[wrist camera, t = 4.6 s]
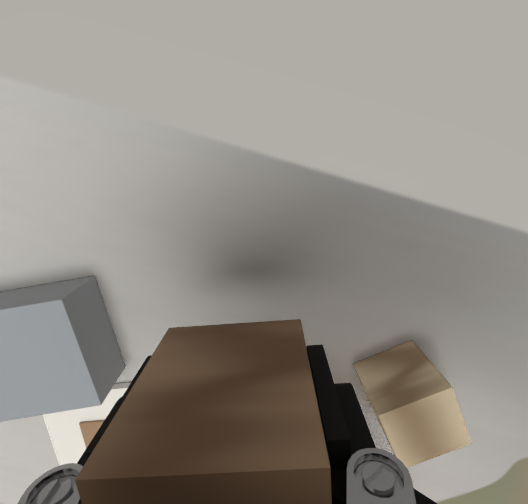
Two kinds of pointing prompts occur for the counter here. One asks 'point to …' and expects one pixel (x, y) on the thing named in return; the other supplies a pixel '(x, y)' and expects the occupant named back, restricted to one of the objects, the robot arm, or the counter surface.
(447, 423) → the maple block
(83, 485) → the walnut block
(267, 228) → the counter surface
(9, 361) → the base block
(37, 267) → the counter surface
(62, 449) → the tile
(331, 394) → the robot arm
